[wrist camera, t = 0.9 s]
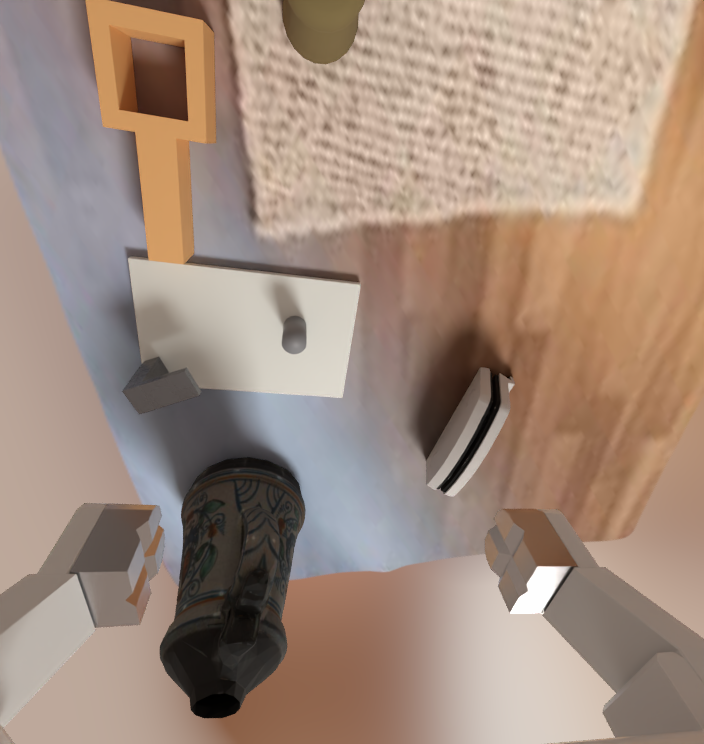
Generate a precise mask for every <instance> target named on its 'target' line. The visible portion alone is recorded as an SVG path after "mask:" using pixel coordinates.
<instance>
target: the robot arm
mask: <svg viewBox="0 0 704 744" xmlns="http://www.w3.org/2000/svg"><path fill="white" fill-rule="evenodd" d="M161 517H162V514H161V509H160V506H157V505H132V504H100V503H99V504H97V503H84V504H83V505H82V506H81V507H79V508H78V509H77V510H76V512H75V514H74V515H73V517H72V519H71V520H70V522H69V523H68V525H67V526H66V528H65V530H64V531H63V533H62V535H61V536H60V538H59V540H58V541H57V543H56V544H55V546H54V547H53V549H52V551H51V552H50V554H49V556H48V557H47V559H46V561H45V562H44V564H43V565H42V567H41V568H40V570H39V572H38V573H37V574H29V575H27V576H26V577H24V578H23V579H21V580H20V581H19V582H17V583H16V584H14V585H13V586H12V587H10V588H9V589H7V590H6V591H5V592H3V593H2V594H0V744H15V743H14V742H13V741H12V739H11V738H10V737H9V735H8V734H7V733H6V731H5V730H4V729H3V728H4V727H5V726H6V725H7V724H8V723H9V721H11V719H12V718H13V717H14V716H15V715H16V714H17V713H18V712H19V711H20V710H21V709H22V708H23V707H24V706H25V705H26V704H27V703H28V701H29V700H30V699H31V698H32V697H33V696H34V695H35V694H36V693H37V692H38V691H39V690H40V689H41V688H42V687H43V686H44V685H45V683H46V682H47V681H48V680H49V679H50V678H51V677H52V676H53V675H54V674H55V673H56V672H57V671H58V670H59V669H60V668H61V666H62V665H63V664H64V663H65V662H66V661H67V660H68V659H69V658H70V657H71V656H72V655H73V654H74V653H75V652H76V651H77V649H78V648H79V647H80V646H81V645H82V644H83V643H84V642H85V641H86V640H87V639H88V638H89V637H90V636H91V635H92V634H93V632H95V628H96V627H113V626H129V625H130V626H131V625H140V624H141V621H142V618H143V615H144V612H145V610H146V607H147V604H148V601H149V598H150V595H151V589H150V584H149V581H150V580H151V579H152V578H153V577H154V576H155V575H156V574H158V571H159V568H160V565H161V562H162V558H163V552H164V547H165V534H164V529H163V528H162V527H160V526H159V522H160V520H161ZM494 520H495V522H496V524H497V525H495V526H494V527H493V528H491V529H490V530H488V533H487V535H486V538H485V554H486V558H487V561H488V564H489V566H490V568H491V570H492V571H494V572H495V573H496V574H497V575H498V576H499V577H500V580H499V584H498V587H499V589H500V592H501V594H502V596H503V599H504V601H505V603H506V606H507V608H508V610H509V612H510V613H543V617H544V618H545V619H546V620H547V621H548V622H549V623H550V624H551V625H552V626H553V627H554V628H555V629H556V630H557V631H558V632H559V633H560V634H561V635H562V637H564V639H565V640H566V641H567V642H568V643H569V644H570V645H571V646H572V647H573V648H574V649H575V650H576V651H577V652H578V653H579V654H580V655H581V657H582V658H583V659H584V660H585V661H586V662H587V663H588V664H589V665H590V666H591V667H592V668H593V669H594V670H595V671H596V672H597V673H598V674H599V675H600V677H601V678H602V679H603V680H604V681H605V682H606V683H607V684H608V685H609V686H610V687H611V688H612V689H613V690H614V691H615V692H616V694H615V695H614V696H613V697H612V698H611V699H610V700H609V701H608V702H607V703H606V704H605V705H604V709H603V714H604V716H605V718H606V720H607V722H608V724H609V726H610V728H611V730H612V732H613V734H614V736H615V738H607V739H595V740H583V741H572V742H560V743H549V744H704V639H703V638H702V637H701V636H699V635H698V634H697V633H695V632H694V631H692V630H691V629H690V628H688V627H687V626H686V625H684V624H683V623H681V622H680V621H678V620H677V619H676V618H674V617H673V616H672V615H670V614H669V613H668V612H666V611H665V610H663V609H662V608H661V607H659V606H658V605H656V604H655V603H654V602H652V601H651V600H650V599H648V598H647V597H646V596H644V595H643V594H641V593H640V592H638V591H637V590H636V589H634V588H633V587H632V586H630V585H629V584H628V583H626V582H625V581H623V580H622V579H621V578H619V577H618V576H617V575H615V574H614V573H612V572H611V571H610V570H608V569H607V568H606V567H599V566H598V564H597V563H596V561H595V560H594V558H593V557H592V556H591V554H590V553H589V551H588V550H587V548H586V547H585V545H584V544H583V542H582V541H581V540H580V538H579V537H578V535H577V534H576V532H575V531H574V529H573V528H572V526H571V525H570V524H569V522H568V521H567V519H566V518H565V516H564V515H563V514H562V513H561V512H560V511H559V510H557V509H501V510H499V511H498V512H497V513H496V515H495V517H494Z"/></svg>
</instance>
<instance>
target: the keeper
mask: <svg viewBox="0 0 704 744" xmlns="http://www.w3.org/2000/svg"><path fill="white" fill-rule="evenodd" d="M122 392H123V393H124V394H125V396H126V397H127V398H128V400H129V401H130V402H131V404H132V405H133V407H134V408H135V409H136V411H137V412H138V413H139V414H142V413H145V412H149V411H152V410H155V409H158V408H161V407H165V406H168V405H171V404H174V403H177V402H181V401H184V400H187V399H190V398H194V397H197V396H200V393H201V390H200V388H199V387H198V385H197V383H196V382H195V380H194V378H193V377H192V375H191V373H190V372H189V370H188V368H187V367H186V368H183V369H180V370H177V371H174V372H171V373H169V371H168V370H167V368H166V367H165V365H164V363H163V362H162V360H161V359H160V357H156V358H152V359H149V360H146V361H144V362H143V363H142V365H141V366H140V367H139V369H138V370H137V372H136V373H135V374H134V376H133V377H132V378H131V380H130V381H129V383H128V384H127V385H126V387H125V388H124V389H123V391H122Z"/></svg>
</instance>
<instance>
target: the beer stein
mask: <svg viewBox="0 0 704 744" xmlns="http://www.w3.org/2000/svg"><path fill="white" fill-rule="evenodd" d="M181 518H182V525H183V552H182V561H181V570H180V578H179V579H180V581H179V589H178V596H177V605H176V614H175V619H174V622H173V623H172V624H171V626H170V627H169V629H168V631H167V633H166V635H165V637H164V638H163V641H162V643H161V645H160V659H161V661H162V663H163V665H164V668H165V670H166V672H167V674H168V675H169V676H170V677H171V678H172V679H173V681H174V682H175V683H176V684H177V685H178V686H179V687H180V688H181V689H182V690H183V691H184V692H185V693H186V694H187V695H188V697H189V698H190V706H191V711H192V712H193V713H194V714H195V715H196V716H200V717H202V718H223V717H227V716H229V715H232V714H235V713H236V712H237V711H238V710H239V709H240V707H241V705H242V703H243V701H244V698H245V696H246V695H247V694H248V693H249V692H250V691H251V690H253V689H254V688H255V687H257V686H258V685H259V684H260V683H262V682H263V681H264V680H265V679H266V678H267V677H268V676H269V675H271V674H272V673H273V672H274V671H275V670H276V668H277V667H278V665H279V664H280V663H281V662H282V660H283V659H284V656H285V654H286V651H287V640H286V633H285V629H284V626H283V624H282V622H281V619H282V613H283V609H284V604H285V599H286V593H287V587H288V582H289V577H290V571H291V566H292V559H293V553H294V547H295V542H296V539H297V536H298V533H299V532H300V530H301V528H302V526H303V523H304V519H305V504H304V501H303V498H302V495H301V491H300V487H299V484H298V482H297V481H296V480H295V479H294V477H293V476H292V475H291V473H290V472H289V471H288V470H286V469H284V468H282V467H280V466H278V465H276V464H273V463H271V462H269V461H267V460H261V459H255V458H238V459H227V460H224V461H222V462H220V463H217V464H215V465H213V466H210V467H208V468H207V469H206V470H205V471H204V472H203V473H202V474H200V475H199V476H198V477H197V479H196V481H195V482H194V484H193V485H192V487H191V489H190V490H189V492H188V493H187V495H186V497H185V499H184V502H183V506H182V511H181Z"/></svg>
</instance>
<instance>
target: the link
mask: <svg viewBox="0 0 704 744" xmlns="http://www.w3.org/2000/svg"><path fill="white" fill-rule="evenodd" d="M86 8H87V15H88V22H89V29H90V36H91V44H92V51H93V58H94V65H95V73H96V80H97V87H98V94H99V101H100V109H101V116H102V123H103V127H108V128H114V129H120V130H126V131H132V132H135V135H136V145H137V154H138V164H139V173H140V183H141V192H142V202H143V211H144V221H145V230H146V240H147V249H148V259H149V261H158V262H167V263H176V264H185V263H186V262H187V261H188V260H189V258H190V257H191V256H192V255H193V254H194V236H193V215H192V194H191V174H190V153H189V141H194V142H200V143H216V109H215V56H214V32H213V31H212V30H211V29H210V28H209V27H208V26H207V24H206V23H205V22H204V21H203V20H200V19H195V18H190V17H185V16H181V15H176V14H171V13H166V12H162V11H157V10H152V9H147V8H142V7H138V6H133V5H128V4H123V3H119V2H114V1H109V0H86ZM131 37H133V38H138V39H143V40H148V41H153V42H158V43H163V44H168V45H173V46H178V47H183V48H185V62H186V83H187V104H188V121H184V120H179V119H173V118H167V117H161V116H155V115H149V114H143V113H138V106H137V96H136V86H135V76H134V66H133V56H132V46H131Z"/></svg>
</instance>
